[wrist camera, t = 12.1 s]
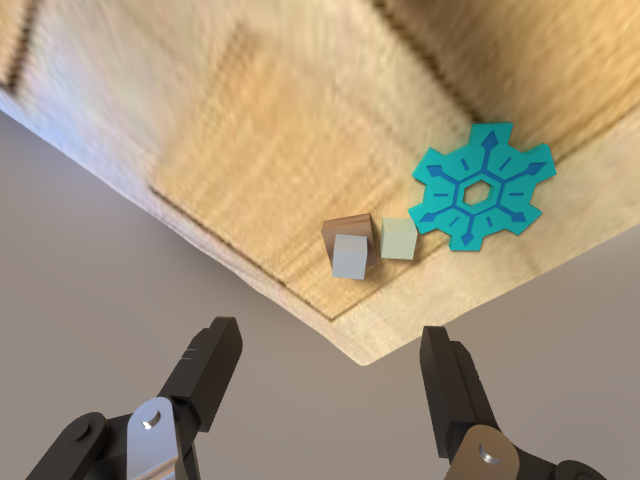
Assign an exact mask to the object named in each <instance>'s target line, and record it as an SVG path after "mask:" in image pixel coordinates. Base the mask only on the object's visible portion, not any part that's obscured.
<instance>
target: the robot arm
mask: <svg viewBox="0 0 640 480" xmlns="http://www.w3.org/2000/svg"><path fill="white" fill-rule="evenodd" d="M242 343H243V342H242V338H241V334H240V331H239V328H238V325H237V321H236V319H235V318H234V317H216V318H215V319H214V321H213V322H212V324H211V326H210V328H209V329H208V328H204V329H203V330H202V331H200V332H199V333H198V334H197V335H196V336H195V337H194V338H193V340H192V341H191V343H190V344H189V346H188V348H187V351H185V353H184V354H183V356H182V359H181V360H180V361H179V362H178V364H177V366H176V367H175V368H174V370H173V372H172V373H171V375H170V377H169V378H168V380H167V382H166V383H165V385H164V386H163V388H162V389H161V391H160V393H159V394H158V395H157V397H156V398H153V399H150V400H148V401H146V402H145V403H144V404H142V405H141V406H140V407H139V408H138V409H137V410H136V411H135V412H134V413H131V414H127V415H124V416H119V417H115V418H112V419H106V418H105V417H104V416H103V415H102V414H101V413H99V412H91V413H88V414H85V415H83V416H81V417H79V418H77V419H76V420H74V421H73V422H72V423H70V424H69V425H68V426H67V427H66V428H65V429H64V430H63V432H62V433H61V434H60V435H59V436H58V438H57V439H56V440H55V442H54V443H53V444H52V446H51V447H50V448H49V450H48V451H47V452H46V453H45V455H44V456H43V457H42V459H41V460H40V461H39V463H38V464H37V465H36V466H35V468H34V469H33V470H32V472H31V473H30V474H29V475H28V477H27V478H26V479H25V480H201V478H200V472H199V466H198V460H197V455H196V449H195V444H194V439H195V437H196V435H197V432H209V429H210V427H211V425H212V422H213V420H214V417H215V415H216V413H217V410H218V408H219V406H220V403H221V401H222V398H223V396H224V394H225V391H226V389H227V386H228V384H229V381H230V379H231V377H232V374H233V372H234V370H235V367H236V365H237V362H238V360H239V357H240V355H241V352H242V346H243V344H242ZM420 365H421V370H422V375H423V380H424V385H425V390H426V395H427V400H428V405H429V410H430V415H431V420H432V425H433V430H434V435H435V440H436V445H437V449H438V454H439V457H440V458H448V459H449V462H450V468H449V470H448V472H447V474H446V476H445V478H444V480H607V479H606V478H604V477H603V476H602V475H601V474H600V473H598V472H597V471H596V470H594V469H593V468H591V467H589V466H587V465H585V464H583V463H581V462H578V461H573V460H567V461H562V462H561V463H559V464H558V465H555V464H553V463H550V462H548V461H545V460H543V459H541V458H538V457H536V456H533V455H531V454H529V453H527V452H525V451H522V450H521V449H519V448H518V447H517V446H515V445H514V444H513V443H512V442H511V441H510V440H509V439H508V438H507V437H506V436H505V435H504V434H503V433H502V431H501V430H500V428H499V427H498V425H497V423H496V420H495V417H494V415H493V412H492V410H491V407H490V404H489V402H488V399H487V397H486V394H485V391H484V389H483V386H482V384H481V381H480V380H479V376H478V373H477V371H476V369H475V365H474V363H473V360H472V358H471V355H470V353H469V352H468V351H467V350H466V348H465V347H464V346H463V345H462V344H461V342H459V341H450V340H449V337H448V334H447V331H446V329H445V327H439V326H424V329H423V334H422V341H421V347H420Z"/></svg>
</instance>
